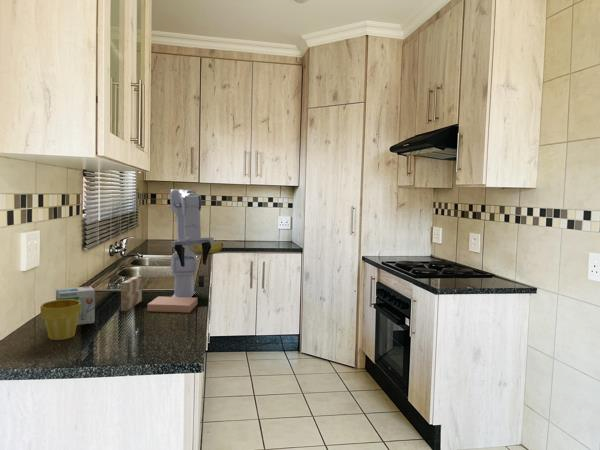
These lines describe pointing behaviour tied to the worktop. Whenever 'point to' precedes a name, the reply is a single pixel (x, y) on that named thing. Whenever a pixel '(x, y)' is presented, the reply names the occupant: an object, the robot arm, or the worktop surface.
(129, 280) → the bookend
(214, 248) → the banana
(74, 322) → the plant pot
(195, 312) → the worktop surface
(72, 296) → the light bulb box
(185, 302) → the book
